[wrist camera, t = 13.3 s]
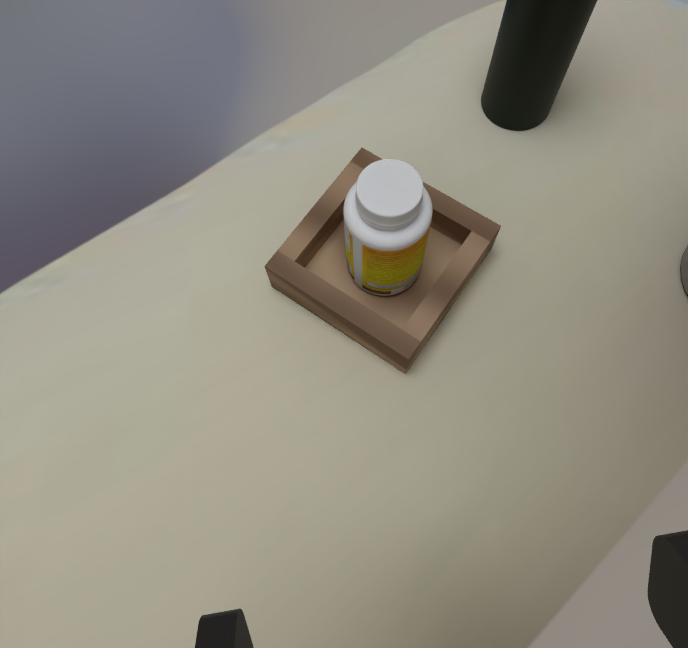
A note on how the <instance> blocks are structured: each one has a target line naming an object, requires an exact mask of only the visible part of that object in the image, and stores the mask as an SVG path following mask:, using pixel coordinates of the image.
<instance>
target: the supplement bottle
mask: <svg viewBox="0 0 688 648" xmlns="http://www.w3.org/2000/svg"><path fill="white" fill-rule="evenodd" d="M432 212H433V208H432V202H431V198H430V196H429V194H428V192H427V190H426V189H425V187H424V186H423V182H422V179H421V177H420V175H419V173H418V172H417V171H416V169H415V168H413V167H412V166H411V165H409V164H408V163H406V162H403V161H401V160H396V159H383V160H379V161H376V162H373V163H371V164H370V165H368V166H367V167H366V168H365V169H364V170H363V171H362V172H361V174H360V175H359V177H358V180H357V182H356V183H355V184H354V185H353V186H352V187H351V189H350V190H349V192H348V194H347V196H346V199H345V202H344V211H343V215H344V230H345V245H346V259H347V267H348V271H349V273H350V275H351V277H352V279H353V280H354V282H355V283H356V284H357V285H358V286H359V287H361V288H362V289H363V290H365V291H367V292H369V293H372V294H375V295H382V296H389V295H394V294H398V293H400V292H402V291H404V290H406V289H407V288H409V287H410V286H411V285H412V284H413V283H414V282H415V281H416V279H417V278H418V276H419V274H420V271H421V268H422V264H423V259H424V254H425V249H426V244H427V240H428V235H429V230H430V225H431V220H432Z"/></svg>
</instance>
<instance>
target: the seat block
mask: <svg viewBox="0 0 688 648" xmlns="http://www.w3.org/2000/svg"><path fill="white" fill-rule="evenodd" d="M379 160H383V159H381V158H380V157H378V156H376V155H374V154H372V153H371V152H369V151H367V150H365V149H364V148H361V149H360V150H359V152H358V153H357V154H356V155H355V156H354V158H353V159H352V160H351V161H350V163H349V164H348V165H347V166H346V167H345V169H344V170H343V171H342V172H341V174H340V175H339V176H338V177H337V178H336V180H335V181H334V182H333V183H332V185H331V186H330V187H329V188H328V189H327V191H326V192H325V193H324V194H323V195H322V197H321V198H320V199H319V200H318V202H317V203H316V204H315V205H314V206H313V208H312V209H311V210H310V211H309V213H308V214H307V215H306V216H305V217H304V219H303V220H302V221H301V222H300V224H299V225H298V226H297V227H296V228H295V230H294V231H293V232H292V233H291V235H290V236H289V237H288V238H287V239H286V241H285V242H284V243H283V244H282V246H281V247H280V248H279V249H278V250H277V252H276V253H275V254H274V255H273V257H272V258H271V259H270V260H269V261H268V263H267V264H266V265H265V269H266V272H267V274H268V277H269V280H270V283H271V285H272V287H273V288H275V289H276V290H278V291H280V292H281V293H283V294H284V295H286V296H287V297H289V298H290V299H292V300H293V301H295V302H296V303H298V304H299V305H301V306H302V307H304V308H306V309H307V310H309V311H310V312H312V313H313V314H315V315H316V316H318V317H319V318H321V319H322V320H324V321H325V322H327V323H328V324H330V325H331V326H333V327H335V328H336V329H338V330H339V331H341V332H342V333H344V334H345V335H347V336H348V337H350V338H351V339H353V340H354V341H356V342H357V343H359V344H360V345H362V346H364V347H365V348H367V349H368V350H370V351H371V352H373V353H374V354H376V355H377V356H379V357H380V358H382V359H383V360H385V361H386V362H388V363H389V364H391V365H393V366H394V367H396V368H397V369H399V370H400V371H402V372H403V373H406V372H407V370H408V369H409V367H410V366H411V365H412V363H413V362H414V360H415V359H416V357H417V356H418V354H419V353H420V352H421V350H422V349H423V347H424V346H425V344H426V343H427V341H428V340H429V338H430V337H431V336H432V334H433V333H434V331H435V330H436V328H437V327H438V325H439V324H440V323H441V321H442V320H443V318H444V317H445V315H446V314H447V312H448V311H449V309H450V308H451V307H452V305H453V304H454V302H455V301H456V299H457V298H458V296H459V295H460V293H461V292H462V291H463V289H464V288H465V286H466V285H467V283H468V282H469V280H470V279H471V278H472V276H473V275H474V273H475V272H476V270H477V269H478V267H479V266H480V264H481V263H482V262H483V260H484V259H485V257H486V256H487V254H488V253H489V251H490V250H491V248H492V246H493V244H494V241H495V239H496V237H497V234H498V232H499V230H500V227H501V226H500V225H498V224H497V223H495V222H493V221H491V220H490V219H488V218H486V217H484V216H482V215H481V214H479V213H477V212H475V211H474V210H472V209H470V208H468V207H466V206H465V205H463V204H461V203H459V202H458V201H456V200H454V199H452V198H451V197H449V196H447V195H445V194H443V193H442V192H440V191H438V190H436V189H435V188H433V187H431V186H429V185H427V184H426V183H424V182H423V186H424V187H425V189H426V190H427V192H428V194H429V196H430V198H431V202H432V208H433V212H432V220H431V225H430V230H429V235H428V240H427V244H426V249H425V254H424V259H423V264H422V268H421V271H420V274H419V276H418V278H417V279H416V281H415V282H414V283H413V284H412V285H411V286H410V287H409V288H407V289H406V290H404V291H402V292H400V293H398V294H394V295H389V296H382V295H375V294H372V293H369V292H367V291H365V290H363V289H362V288H361V287H359V286H358V285H357V284H356V283H355V282H354V280H353V279H352V277H351V275H350V273H349V271H348V267H347V259H346V245H345V230H344V215H343V211H344V202H345V199H346V196H347V194H348V192H349V190H350V189H351V187H352V186H353V185H354V184H355V183H356V182H357V180H358V177H359V175H360V174H361V172H362V171H363V170H364V169H365V168H366V167H367V166H368V165H370V164H371V163H373V162H376V161H379Z"/></svg>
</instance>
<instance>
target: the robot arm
mask: <svg viewBox="0 0 688 648" xmlns="http://www.w3.org/2000/svg"><path fill="white" fill-rule="evenodd" d="M681 278H682V281H683V285H684V288H685V291H686V293H687V295H688V246H687V248H686V250H685V252H684V254H683V258H682V263H681ZM648 600H649V604H650V607H651V611H652V613H653V616H654V618H655V620H656V622H657V624H658V625H659V627H660V629H661V630H662V631H663V633H664V635H665V636H666V638H667V639H668V641H669V642H670V644H671V645H672V647H673V648H688V530H687V531H682V532H676V533H670V534H665V535H659V536H656V537H655V538H654V540H653V545H652V555H651V564H650V573H649V583H648ZM195 648H254V647H253V644H252V641H251V637H250V634H249V630H248V627H247V623H246V620H245V617H244V614H243V611H242V610H241V609H236V610H230V611H224V612H219V613H213V614H208V615H203V616H201V618H200V621H199V625H198V631H197V638H196V644H195Z"/></svg>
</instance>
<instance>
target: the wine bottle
mask: <svg viewBox="0 0 688 648" xmlns="http://www.w3.org/2000/svg"><path fill="white" fill-rule="evenodd" d="M596 2H597V0H507V2H506V6H505V9H504V13H503V17H502V21H501V25H500V28H499V32H498V36H497V40H496V44H495V47H494V51H493V55H492V59H491V63H490V66H489V70H488V74H487V78H486V82H485V85H484V89H483V93H482V97H481V104H482V108H483V110H484V112H485V114H486V116H487V117H488V118H489V119H490V120H491V121H492V122H494V123H495V124H497V125H499V126H501V127H503V128H506V129H510V130H526V129H530V128H533V127H535V126H537V125H539V124H540V123H541V122H543V121H544V120H545V118H546V117H547V115H548V114H549V111H550V109H551V107H552V104H553V102H554V100H555V97H556V95H557V93H558V90H559V88H560V86H561V83H562V81H563V79H564V76H565V74H566V72H567V69H568V67H569V65H570V62H571V60H572V58H573V56H574V53H575V51H576V49H577V46H578V44H579V42H580V39H581V37H582V35H583V32H584V30H585V28H586V25H587V23H588V21H589V18H590V16H591V14H592V11H593V9H594V7H595V4H596Z"/></svg>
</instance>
